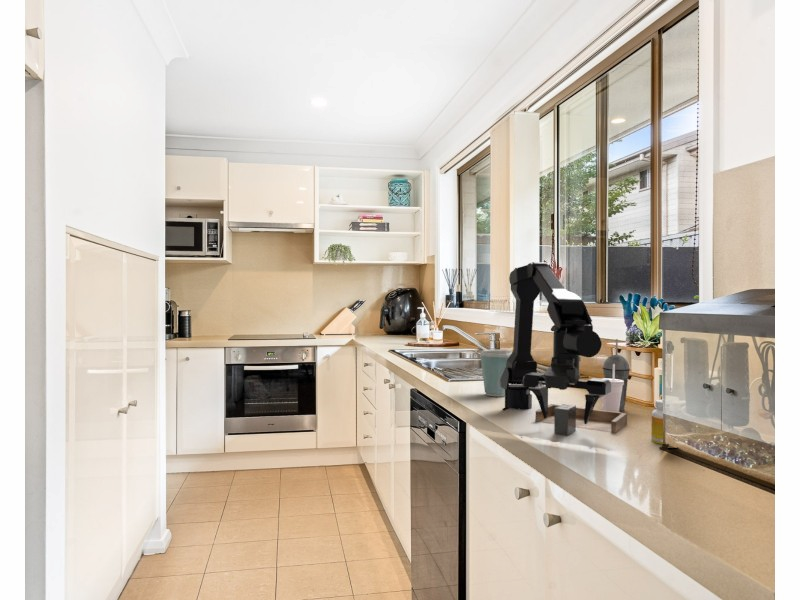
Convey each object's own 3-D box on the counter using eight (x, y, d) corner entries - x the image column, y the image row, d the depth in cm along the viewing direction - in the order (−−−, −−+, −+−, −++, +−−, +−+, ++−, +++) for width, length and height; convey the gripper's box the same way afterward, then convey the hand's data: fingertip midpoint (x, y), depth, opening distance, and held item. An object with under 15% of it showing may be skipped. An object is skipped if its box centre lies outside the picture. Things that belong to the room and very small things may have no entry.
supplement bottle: (667, 451, 115) (668, 404, 115) (645, 444, 120) (646, 400, 120) (684, 448, 117) (685, 402, 117) (662, 441, 122) (662, 398, 122)
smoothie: (625, 419, 145) (626, 365, 145) (600, 417, 146) (600, 364, 146) (621, 414, 151) (621, 363, 151) (596, 412, 153) (597, 362, 152)
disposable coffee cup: (473, 395, 177) (474, 348, 176) (487, 391, 186) (487, 346, 186) (505, 399, 171) (506, 351, 171) (517, 394, 180) (518, 348, 180)
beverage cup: (601, 410, 156) (602, 339, 155) (602, 405, 162) (603, 338, 162) (629, 412, 153) (630, 340, 153) (629, 408, 160) (630, 339, 160)
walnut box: (535, 425, 137) (535, 411, 136) (550, 417, 146) (551, 404, 146) (615, 437, 126) (615, 421, 126) (626, 427, 135) (626, 413, 135)
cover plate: (532, 438, 125) (532, 406, 125) (546, 430, 133) (546, 400, 133) (586, 447, 119) (586, 413, 119) (597, 438, 126) (597, 406, 126)
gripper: (513, 352, 124) (512, 421, 124) (599, 358, 114) (598, 434, 114) (531, 348, 133) (530, 413, 133) (612, 354, 123) (611, 424, 123)
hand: (565, 420), depth 126 cm, fingers open, 9 cm apart
